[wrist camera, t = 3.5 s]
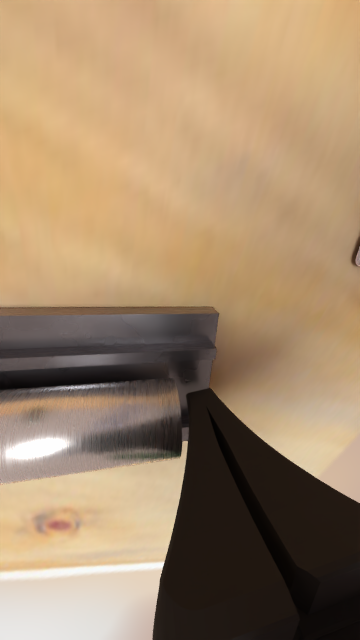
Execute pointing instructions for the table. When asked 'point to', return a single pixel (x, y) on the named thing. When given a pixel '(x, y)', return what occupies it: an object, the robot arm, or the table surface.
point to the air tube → (87, 428)
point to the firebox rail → (108, 347)
